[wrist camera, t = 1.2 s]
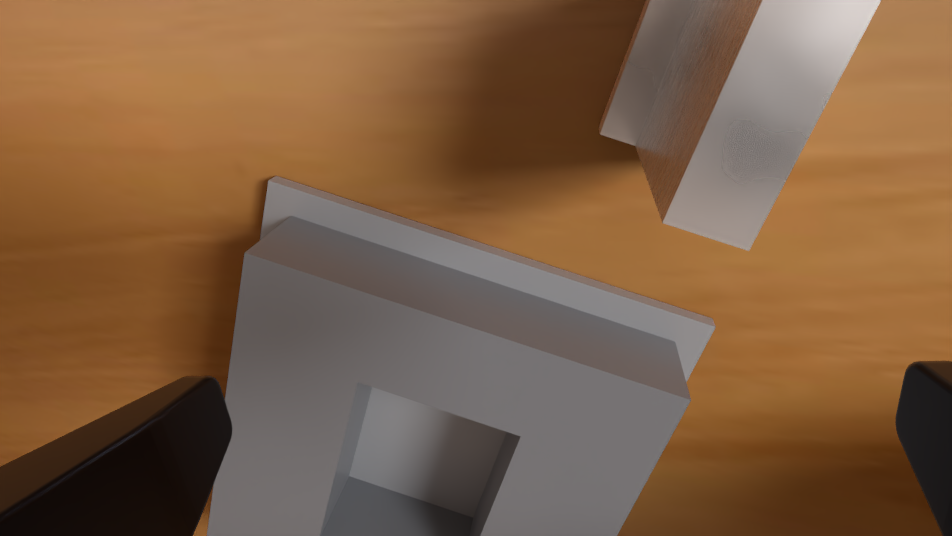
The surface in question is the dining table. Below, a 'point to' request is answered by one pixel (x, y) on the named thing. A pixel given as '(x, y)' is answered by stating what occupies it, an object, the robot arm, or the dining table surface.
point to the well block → (437, 384)
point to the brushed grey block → (728, 102)
